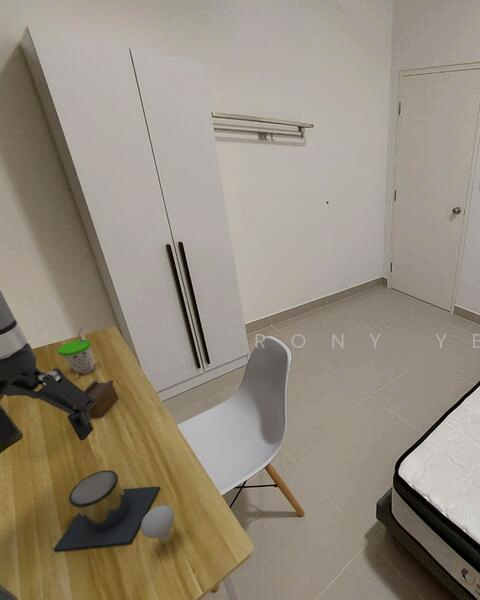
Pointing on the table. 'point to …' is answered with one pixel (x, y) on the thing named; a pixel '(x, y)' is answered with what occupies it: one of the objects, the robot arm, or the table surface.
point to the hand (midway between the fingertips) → (48, 436)
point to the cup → (78, 355)
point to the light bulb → (158, 523)
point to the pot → (100, 500)
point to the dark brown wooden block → (101, 397)
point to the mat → (119, 535)
